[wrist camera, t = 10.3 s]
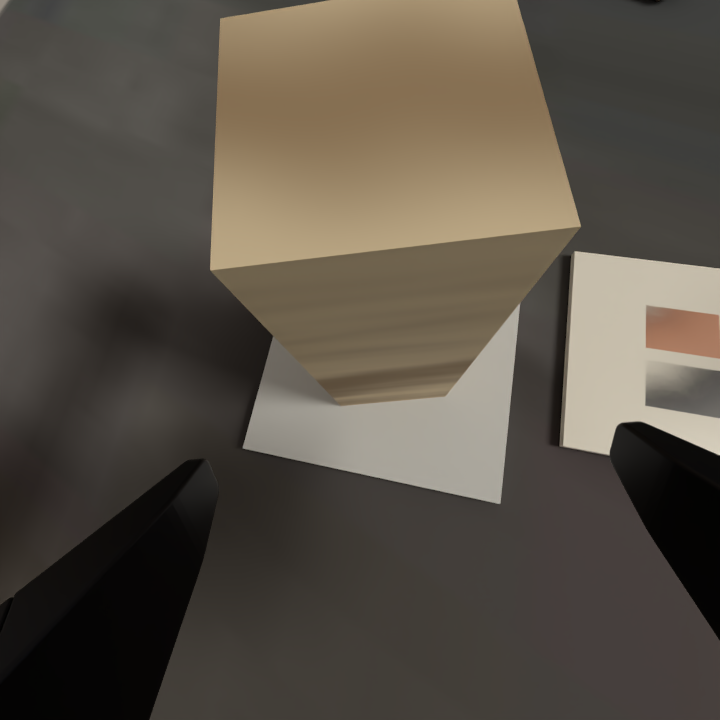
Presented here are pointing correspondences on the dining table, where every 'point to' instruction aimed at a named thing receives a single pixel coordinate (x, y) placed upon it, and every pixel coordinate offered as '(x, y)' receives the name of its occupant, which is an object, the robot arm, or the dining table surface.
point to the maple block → (384, 185)
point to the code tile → (641, 351)
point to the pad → (395, 424)
